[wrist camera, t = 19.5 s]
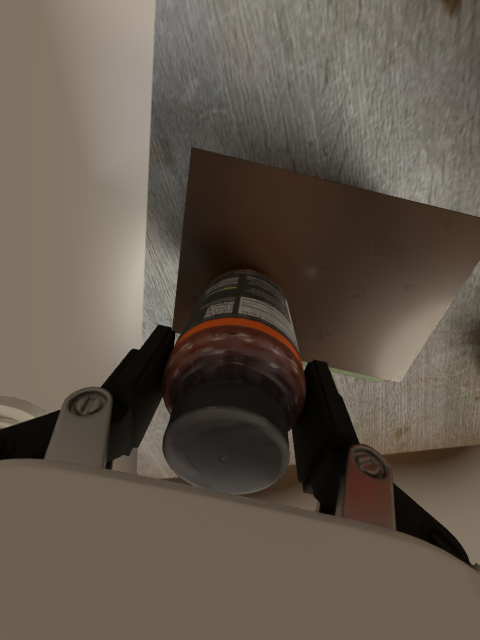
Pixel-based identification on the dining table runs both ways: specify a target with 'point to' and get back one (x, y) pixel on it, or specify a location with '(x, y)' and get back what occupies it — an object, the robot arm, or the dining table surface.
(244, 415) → the supplement bottle
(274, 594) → the robot arm
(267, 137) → the dining table surface
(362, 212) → the cabinet
